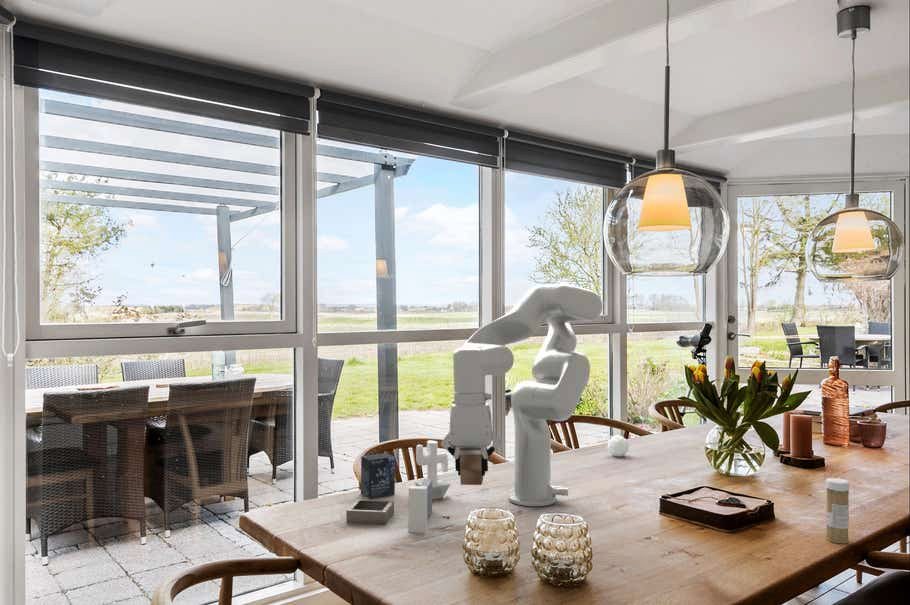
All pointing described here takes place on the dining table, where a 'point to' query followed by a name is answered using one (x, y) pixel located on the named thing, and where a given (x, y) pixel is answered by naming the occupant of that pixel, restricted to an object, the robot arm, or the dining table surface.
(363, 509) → the tray
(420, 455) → the figurine
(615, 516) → the dining table surface
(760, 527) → the dining table surface
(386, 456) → the box
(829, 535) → the sprinkles bottle
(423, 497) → the grey upright block
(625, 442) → the ornament
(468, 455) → the stop block
